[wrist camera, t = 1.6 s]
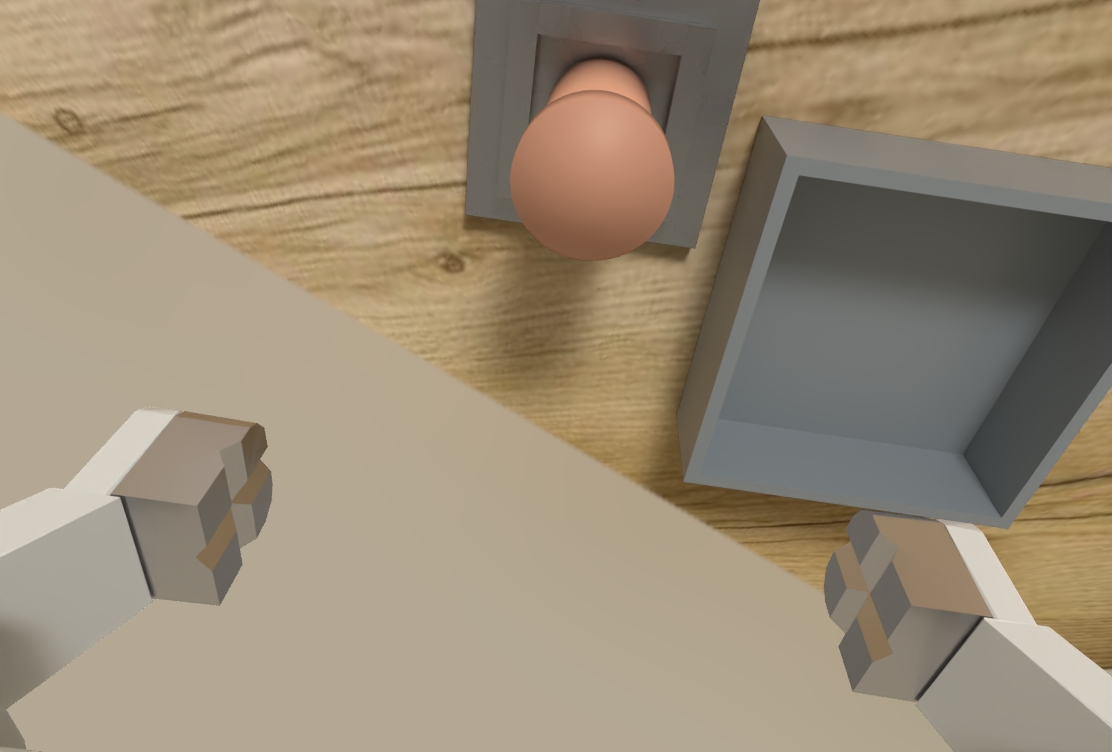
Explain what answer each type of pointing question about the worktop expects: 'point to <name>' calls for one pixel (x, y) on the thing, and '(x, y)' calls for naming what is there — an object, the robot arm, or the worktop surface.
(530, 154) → the butternut squash
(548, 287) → the worktop surface
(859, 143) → the slate tray
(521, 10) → the socket plate
